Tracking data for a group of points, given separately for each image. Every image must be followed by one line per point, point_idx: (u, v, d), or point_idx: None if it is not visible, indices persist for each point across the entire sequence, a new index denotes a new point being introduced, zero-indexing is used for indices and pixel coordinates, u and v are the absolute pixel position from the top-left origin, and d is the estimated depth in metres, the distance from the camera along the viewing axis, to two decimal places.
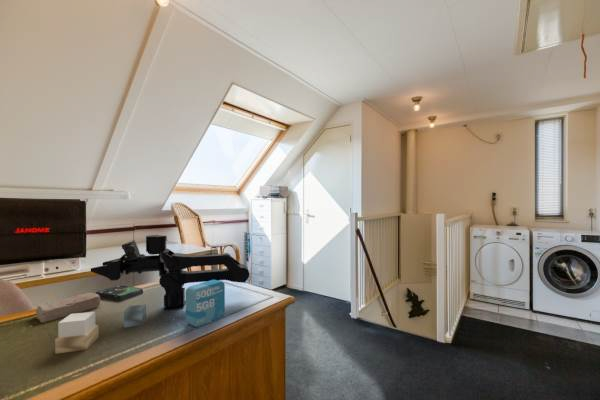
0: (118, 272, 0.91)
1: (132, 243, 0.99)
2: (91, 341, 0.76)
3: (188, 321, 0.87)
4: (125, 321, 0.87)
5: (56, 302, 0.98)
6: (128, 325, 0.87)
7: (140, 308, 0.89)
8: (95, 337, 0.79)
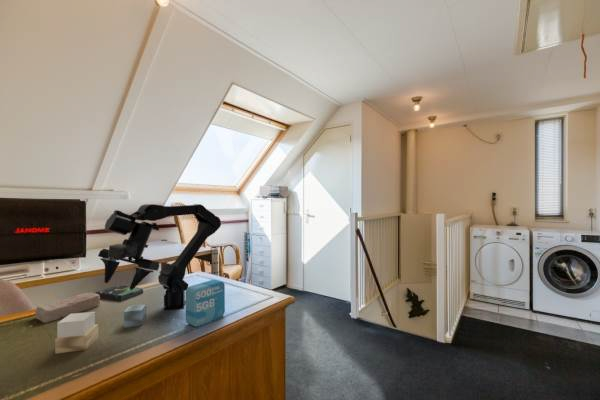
0: (156, 262, 0.91)
1: (119, 247, 0.85)
2: (91, 341, 0.76)
3: (188, 321, 0.87)
4: (125, 321, 0.87)
5: (55, 302, 0.98)
6: (128, 325, 0.87)
7: (140, 308, 0.89)
8: (95, 337, 0.79)
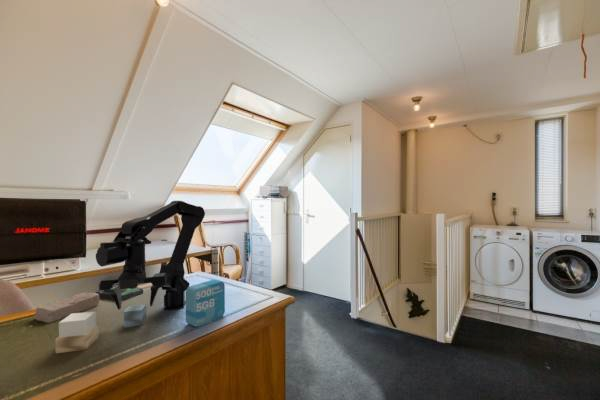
0: (166, 275, 0.93)
1: (130, 278, 0.83)
2: (91, 341, 0.77)
3: (188, 321, 0.87)
4: (125, 321, 0.87)
5: (55, 303, 0.97)
6: (128, 325, 0.87)
7: (140, 308, 0.89)
8: (95, 337, 0.79)
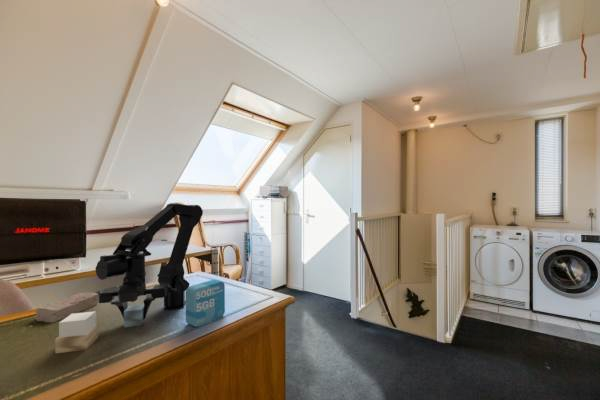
0: (166, 287, 0.93)
1: (130, 291, 0.83)
2: (91, 341, 0.77)
3: (188, 321, 0.87)
4: (125, 321, 0.87)
5: (55, 303, 0.97)
6: (128, 325, 0.87)
7: (140, 308, 0.89)
8: (95, 337, 0.79)
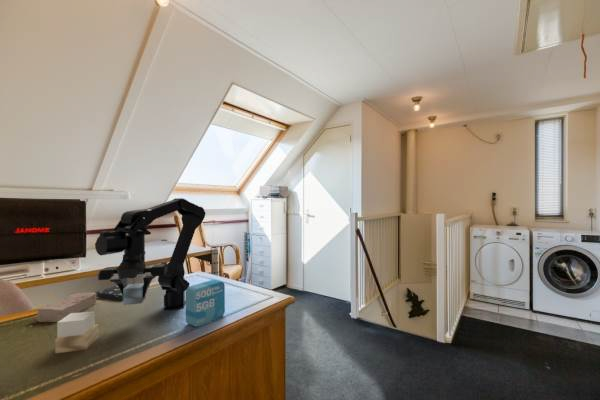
0: (165, 266, 0.92)
1: (130, 267, 0.82)
2: (91, 341, 0.77)
3: (188, 321, 0.87)
4: (124, 298, 0.87)
5: (55, 304, 0.97)
6: (127, 302, 0.87)
7: (139, 286, 0.89)
8: (95, 337, 0.79)
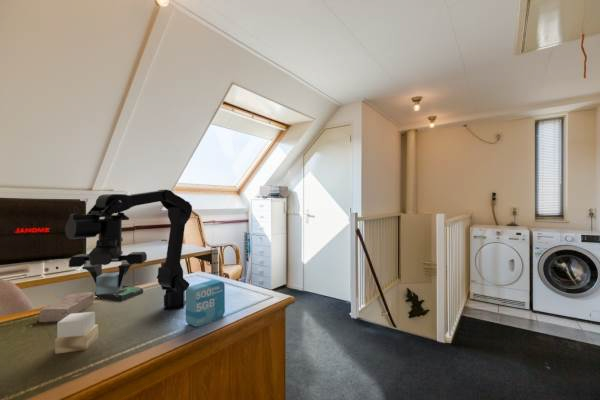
0: (143, 253, 0.86)
1: (102, 253, 0.76)
2: (91, 341, 0.76)
3: (188, 321, 0.87)
4: (98, 287, 0.80)
5: (55, 304, 0.96)
6: (101, 292, 0.80)
7: (115, 274, 0.83)
8: (95, 337, 0.79)
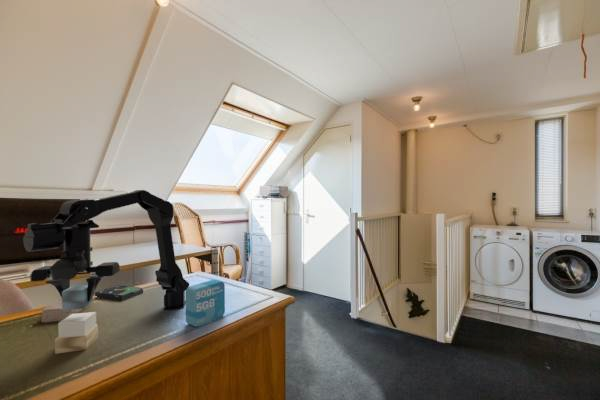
0: (115, 264, 0.79)
1: (66, 266, 0.69)
2: (91, 341, 0.76)
3: (188, 321, 0.87)
4: (63, 303, 0.73)
5: (56, 304, 0.96)
6: (67, 307, 0.74)
7: (83, 288, 0.76)
8: (95, 337, 0.79)
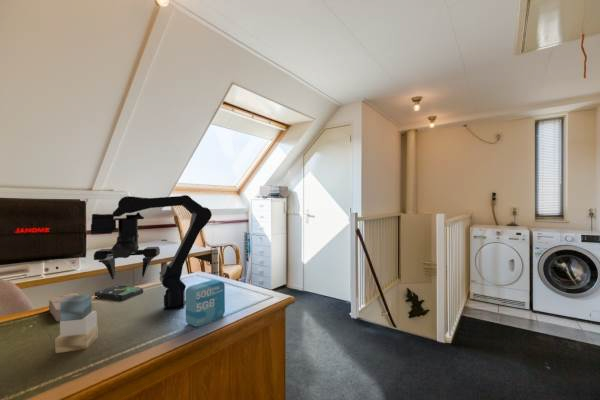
0: (157, 248, 0.98)
1: (123, 248, 0.88)
2: (91, 340, 0.77)
3: (188, 321, 0.87)
4: (62, 313, 0.74)
5: None
6: (66, 318, 0.74)
7: (81, 299, 0.76)
8: (95, 336, 0.79)
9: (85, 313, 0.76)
